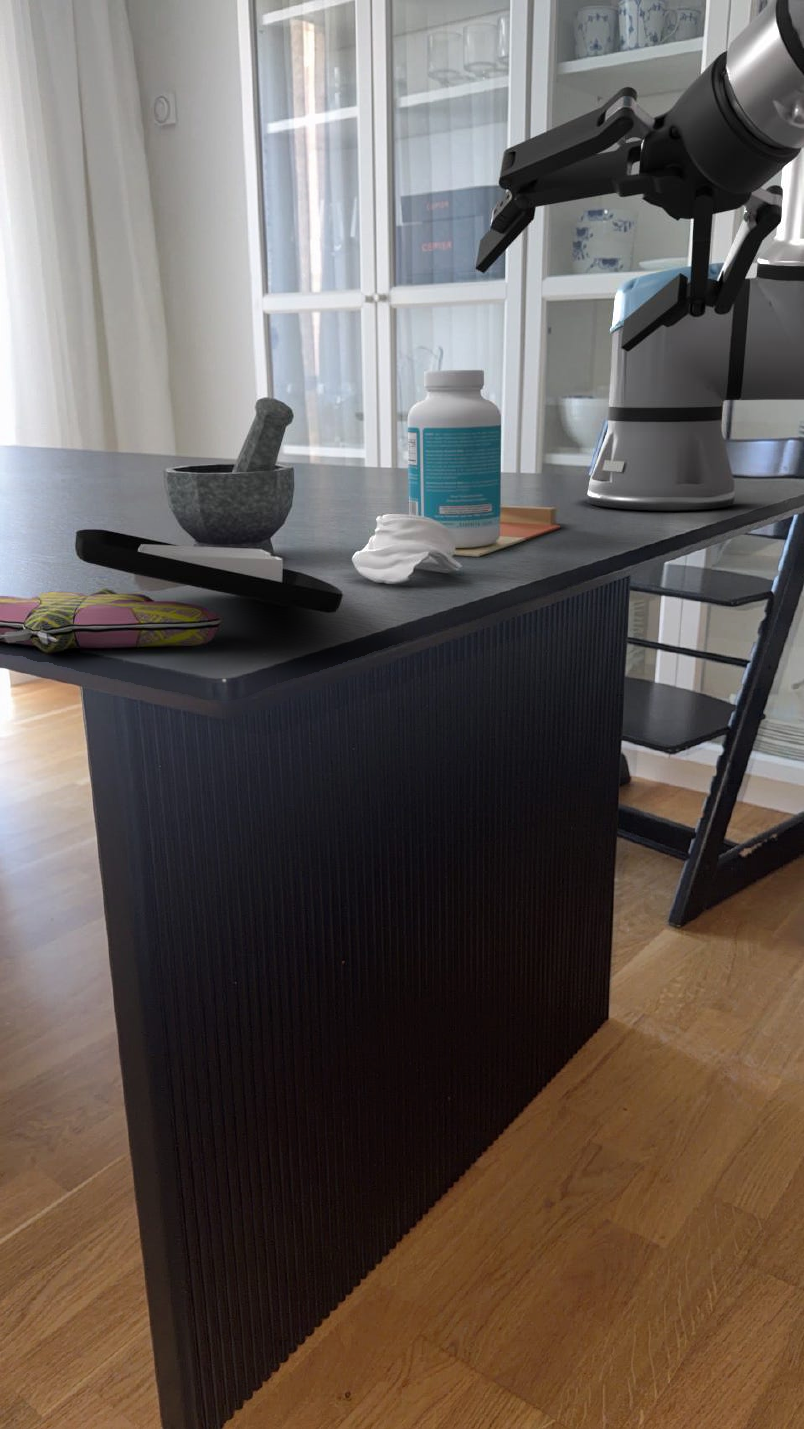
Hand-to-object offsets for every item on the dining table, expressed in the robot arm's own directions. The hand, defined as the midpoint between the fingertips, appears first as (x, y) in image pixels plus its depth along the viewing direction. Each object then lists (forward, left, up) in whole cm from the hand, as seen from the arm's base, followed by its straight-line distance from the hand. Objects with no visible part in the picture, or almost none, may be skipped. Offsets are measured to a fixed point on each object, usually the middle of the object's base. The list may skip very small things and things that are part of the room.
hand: (556, 298), depth 82 cm
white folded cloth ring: (+18, -4, -19) cm, 27 cm away
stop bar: (-11, -7, -19) cm, 23 cm away
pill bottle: (+4, -7, -19) cm, 20 cm away
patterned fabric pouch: (+38, -12, -18) cm, 43 cm away
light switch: (+41, -12, -14) cm, 45 cm away
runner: (-1, -7, -19) cm, 20 cm away
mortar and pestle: (+17, -19, -19) cm, 32 cm away
